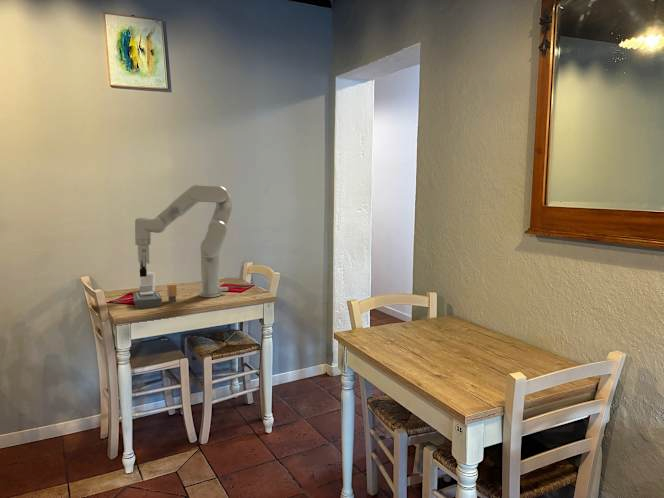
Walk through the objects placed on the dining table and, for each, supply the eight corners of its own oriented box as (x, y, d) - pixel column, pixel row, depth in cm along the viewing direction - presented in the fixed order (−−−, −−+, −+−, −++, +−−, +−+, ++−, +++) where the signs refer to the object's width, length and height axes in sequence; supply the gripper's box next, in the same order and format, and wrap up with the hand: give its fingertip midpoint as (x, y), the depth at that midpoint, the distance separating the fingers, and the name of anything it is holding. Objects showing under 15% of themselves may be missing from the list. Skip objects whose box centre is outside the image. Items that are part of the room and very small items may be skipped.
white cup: (158, 289, 274) (157, 272, 272) (151, 292, 266) (151, 274, 264) (145, 288, 274) (144, 271, 273) (138, 291, 267) (137, 274, 265)
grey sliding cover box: (158, 298, 254) (157, 290, 253) (161, 306, 240) (161, 297, 239) (133, 300, 249) (133, 291, 248) (136, 308, 234) (135, 299, 234)
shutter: (152, 291, 250) (152, 284, 250) (154, 294, 245) (153, 287, 244) (139, 292, 248) (139, 285, 247) (140, 295, 242) (140, 288, 241)
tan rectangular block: (175, 299, 252) (175, 283, 251) (176, 301, 248) (176, 284, 247) (167, 300, 250) (167, 283, 249) (168, 302, 247) (168, 285, 245)
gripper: (152, 243, 245) (152, 279, 247) (149, 239, 258) (149, 273, 261) (136, 243, 241) (136, 279, 244) (134, 239, 255) (134, 273, 257)
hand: (143, 276), depth 252 cm, fingers closed
